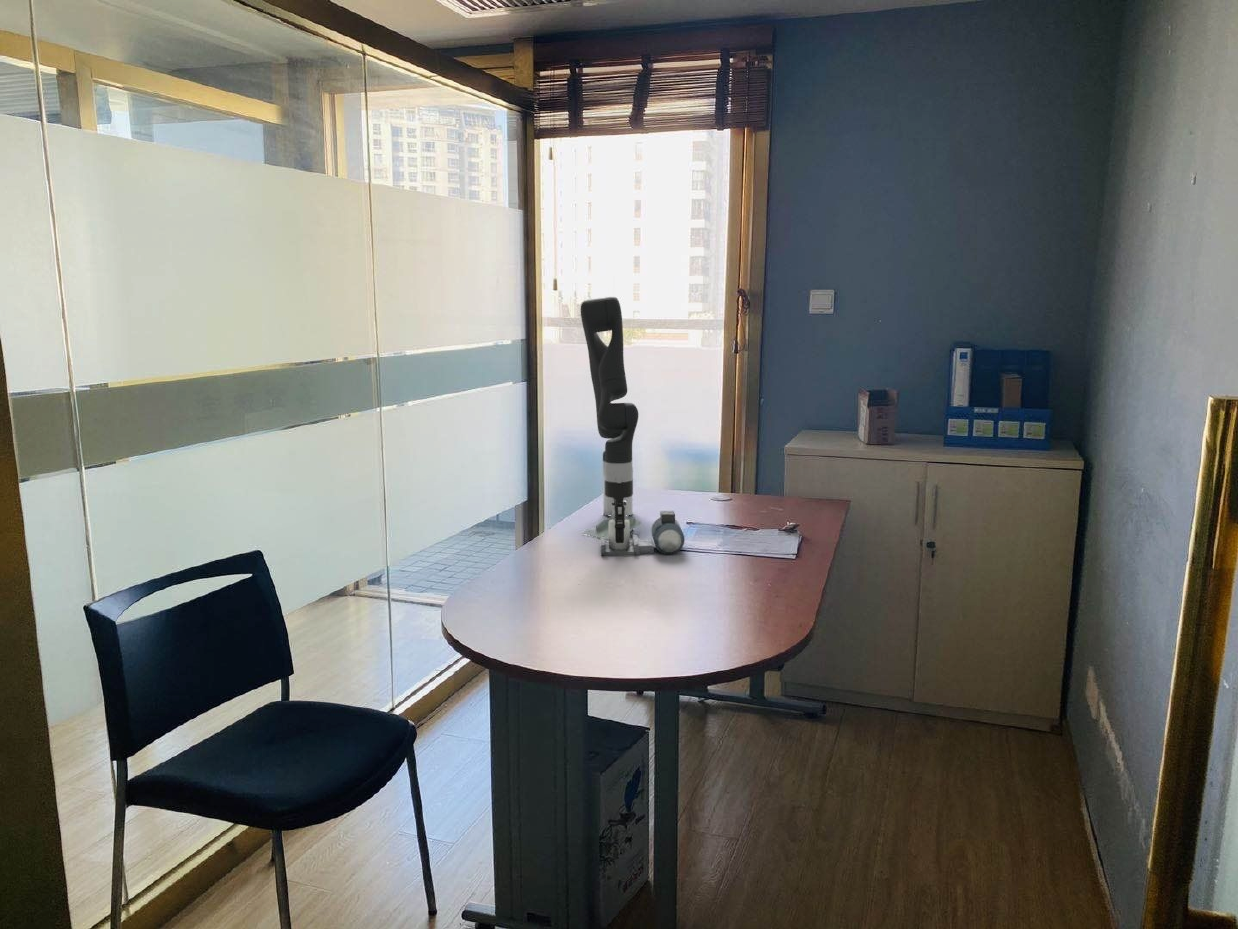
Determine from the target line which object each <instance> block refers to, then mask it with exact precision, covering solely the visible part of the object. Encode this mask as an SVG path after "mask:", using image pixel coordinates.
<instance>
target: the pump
mask: <svg viewBox="0 0 1238 929" xmlns="http://www.w3.org/2000/svg"><path fill="white" fill-rule="evenodd" d="M617 524H622V521H617ZM630 532H631V531H630V521H629V520H625V528H624V542H623V543H616V537H615V521H613V520H609V541H608V542H609V548H611V549H617V550H621V549H627V548H629V547H630V542H631V541H630V540H631V539H630V538H631V537H630V536H631V534H630Z"/></svg>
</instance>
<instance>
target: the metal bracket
mask: <svg viewBox="0 0 1238 929" xmlns="http://www.w3.org/2000/svg"><path fill="white" fill-rule="evenodd" d="M609 520H613V515H611V516H609V517H608V518H606V519H603V520H602V521H600V522H599V523H598V524H596V526H595V529H593V530H592V529H585V530H584V531H583V532H582V533H581V534H587V535H590V536H593V537H592V538H594V537H597V538H596V539H599V538H600V540H601V535H605V541H608V540H609ZM626 520H629V521H630V532H635V530H634V529H635V528H636V527H638V526H639V525H640V524H642V522H643V521H641V520H636V518H635V517H633V516H632V517H630V516H629V515H627V516H626Z"/></svg>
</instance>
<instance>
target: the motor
mask: <svg viewBox="0 0 1238 929" xmlns="http://www.w3.org/2000/svg"><path fill="white" fill-rule="evenodd" d="M659 512H660V514H659V515H660V517H659V518H657V519H656V520H655V521H654V522H653V523H652V526H651V536H652V539H653V540H652V539H639V538H638V535H637V534H632V539H631V540H632V541H630V547H629V548H627V549H621V550H617V549H611V548H609V541H606V540H605V535H601V539H600V556H601V557H614V556H615V557H618V556H619V557H620V556H621V557H622V556H623V557H625V556H626V557H629V556H640V554H654V553H655V552H654V550H655V549H654V548H656V549H657V551H658V552H660V553H661V554H663V555H668V556H669V555H670V556H671V555H675V554H677V553H679V552H680V551H681V549H683V547H684V545H685V540H686V539H685V535H684V532H683V529H682V527H681V525H680V523H679V522H678V520H677V519H676V513H675V511H674V510H661V511H659Z"/></svg>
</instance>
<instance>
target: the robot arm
mask: <svg viewBox="0 0 1238 929" xmlns="http://www.w3.org/2000/svg"><path fill="white" fill-rule="evenodd" d="M580 319H581V324H582V327H583V332H584V337H585V342H586V347H587V351H588V353H587V354H588V361H589V369H590V377H591V383H592V386H593V393H594V399H595V407H596V412H595V413H596V424H597V432H598V435H599V436H600V437H601V438H603V439H608V440H606V442H605V444H604V451H603V452H602V485H603V486H602V487H603V488H602V490H603V491H602V495H603V496H602V497H603V501H602V502H603V503H602V504H603V505H602V506H603V510H602V511H603V515H604V514H605V515H604V516H606V515H613V521H615V537H616V543H623V542H624V528H625V520H626V515H630V516H631V515H633V514H632V513H634V512H633V506H634V505H633V504H634V503H633V501H634V498H633V496H634V470H633V469H634V468H633V441H634V436H635V432H636V429H637V426H638V425H637V424H638V421H639V410H638V408H637V406H636V404H634V403H632V402H614V401H617V400H620V399H622V398H624V397H625V396H626V395H627V393H628V384H627V377H626V371H625V359H624V358H625V357H624V330H623V328H624V327H623V325H624V324H623V315H622V308H621V303H620V301H619V299H618V298H617V297H616V296H613V295H611V296H604V297H596V298H590V299H586V300H585V299H584V300H583V301H582V302H581V304H580ZM608 331H609V332H610V331H611V337H610V341H609V342H608V345H607V344H606V343H604V342H603V340H602V339H601V338H600V336H599V334H598V333H603V332H608ZM612 402H614V403H612ZM617 521H622V524H617Z"/></svg>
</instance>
